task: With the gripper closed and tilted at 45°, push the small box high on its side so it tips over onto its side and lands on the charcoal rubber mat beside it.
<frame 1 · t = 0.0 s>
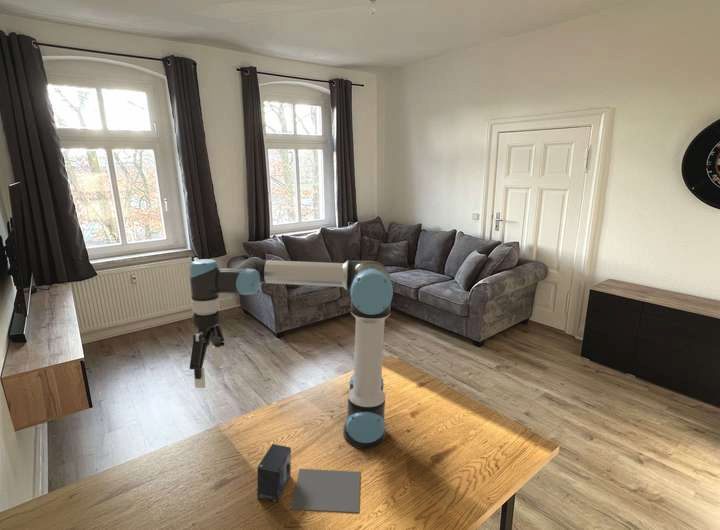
hand: (209, 375, 121), 28 cm above the table, tool pointing down, fingers open, 13 cm apart
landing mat: (327, 489, 114), on the table
small box: (274, 488, 115), on the table
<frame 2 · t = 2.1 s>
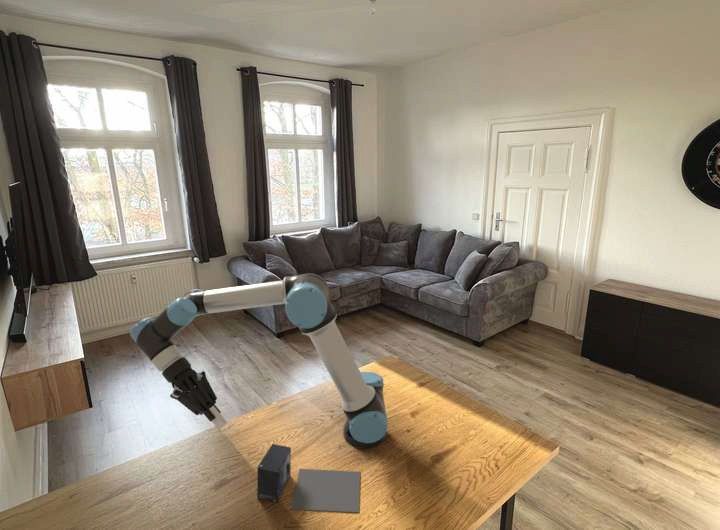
hand: (223, 426, 114), 17 cm above the table, tool tilted 45°, fingers closed
nothing on the table moved.
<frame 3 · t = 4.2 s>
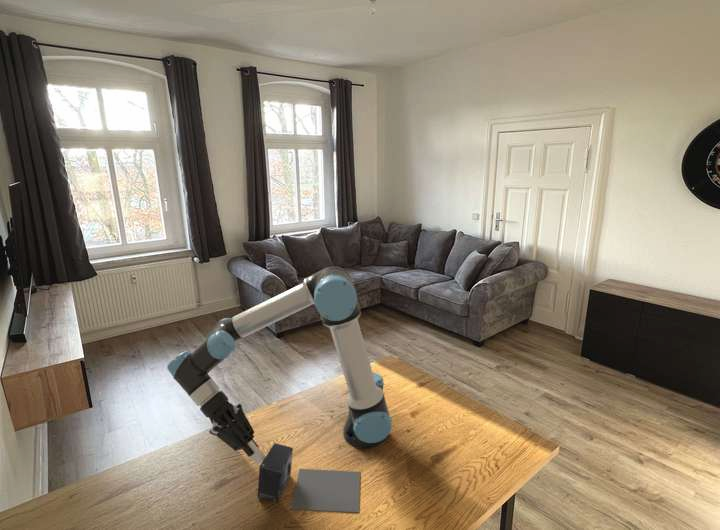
hand: (261, 460, 113), 9 cm above the table, tool tilted 45°, fingers closed
small box: (274, 487, 115), on the table, touching gripper
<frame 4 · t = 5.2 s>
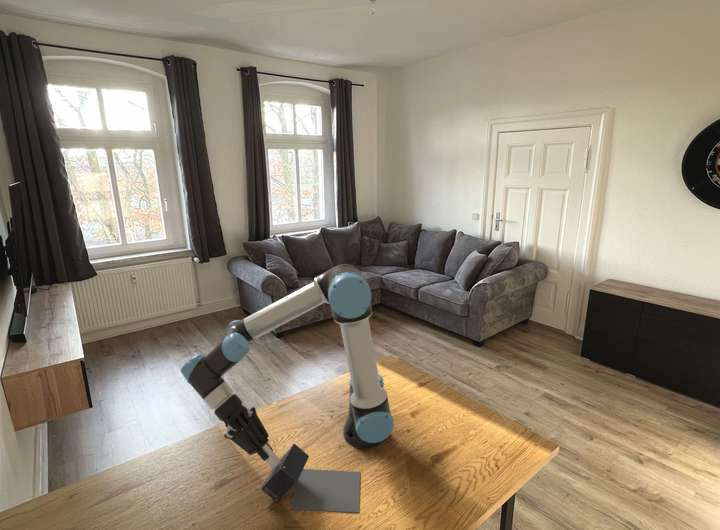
hand: (276, 464, 112), 9 cm above the table, tool tilted 45°, fingers closed
small box: (276, 483, 114), point 2 cm above the table, touching gripper
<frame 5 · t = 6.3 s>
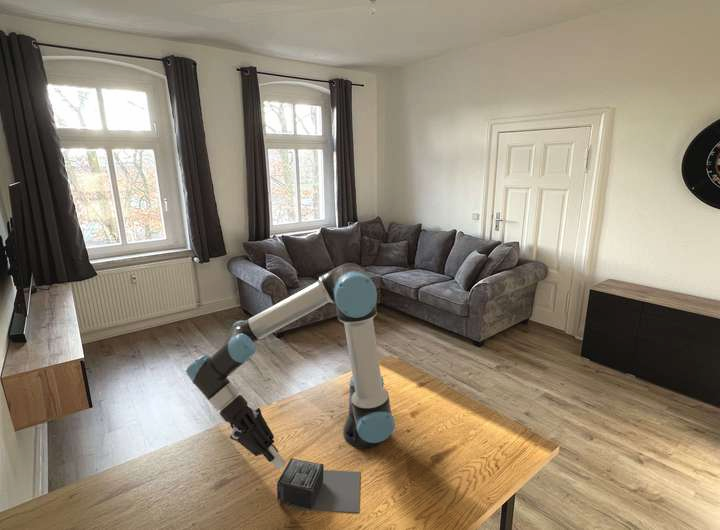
hand: (282, 466, 111), 9 cm above the table, tool tilted 45°, fingers closed
small box: (283, 479, 114), point 3 cm above the table, touching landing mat
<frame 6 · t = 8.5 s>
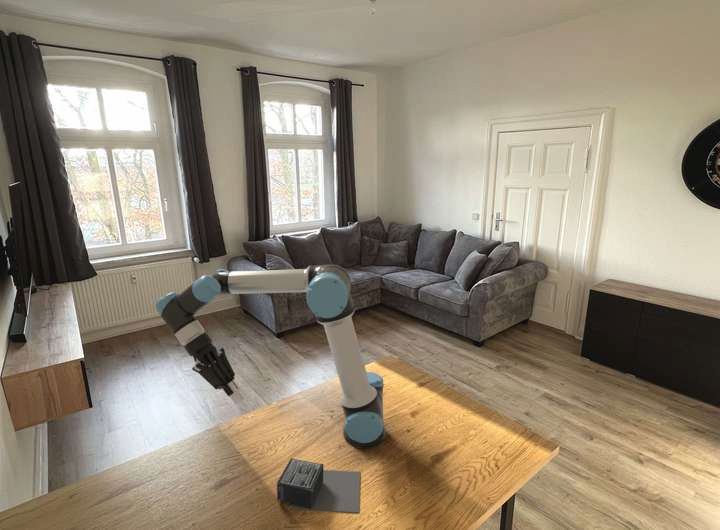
hand: (240, 401, 118), 22 cm above the table, tool tilted 40°, fingers closed
nothing on the table moved.
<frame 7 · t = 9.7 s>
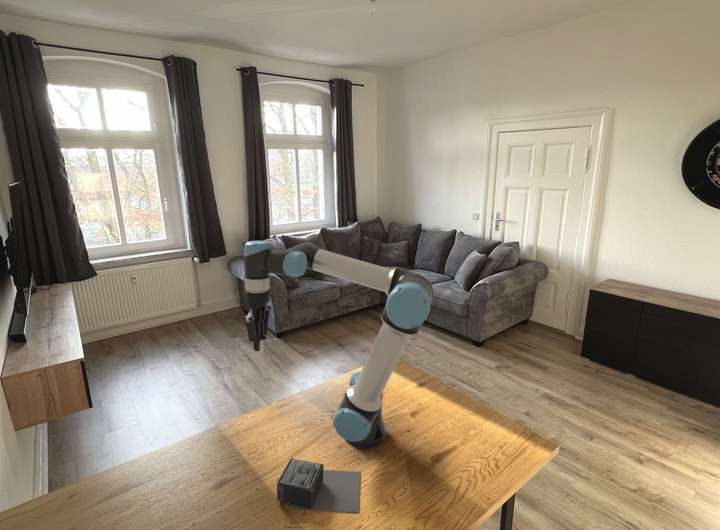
hand: (258, 358, 129), 30 cm above the table, tool pointing down, fingers closed
nothing on the table moved.
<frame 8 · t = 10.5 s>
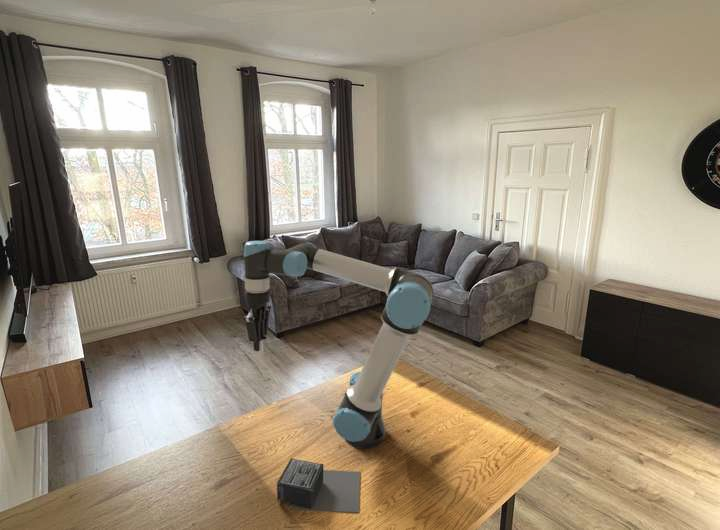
hand: (258, 358, 129), 30 cm above the table, tool pointing down, fingers closed
nothing on the table moved.
at the end: small box tilted 88°; small box touching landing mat; small box inside the target area (3.3 cm from its centre), point 3.3 cm above the table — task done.
